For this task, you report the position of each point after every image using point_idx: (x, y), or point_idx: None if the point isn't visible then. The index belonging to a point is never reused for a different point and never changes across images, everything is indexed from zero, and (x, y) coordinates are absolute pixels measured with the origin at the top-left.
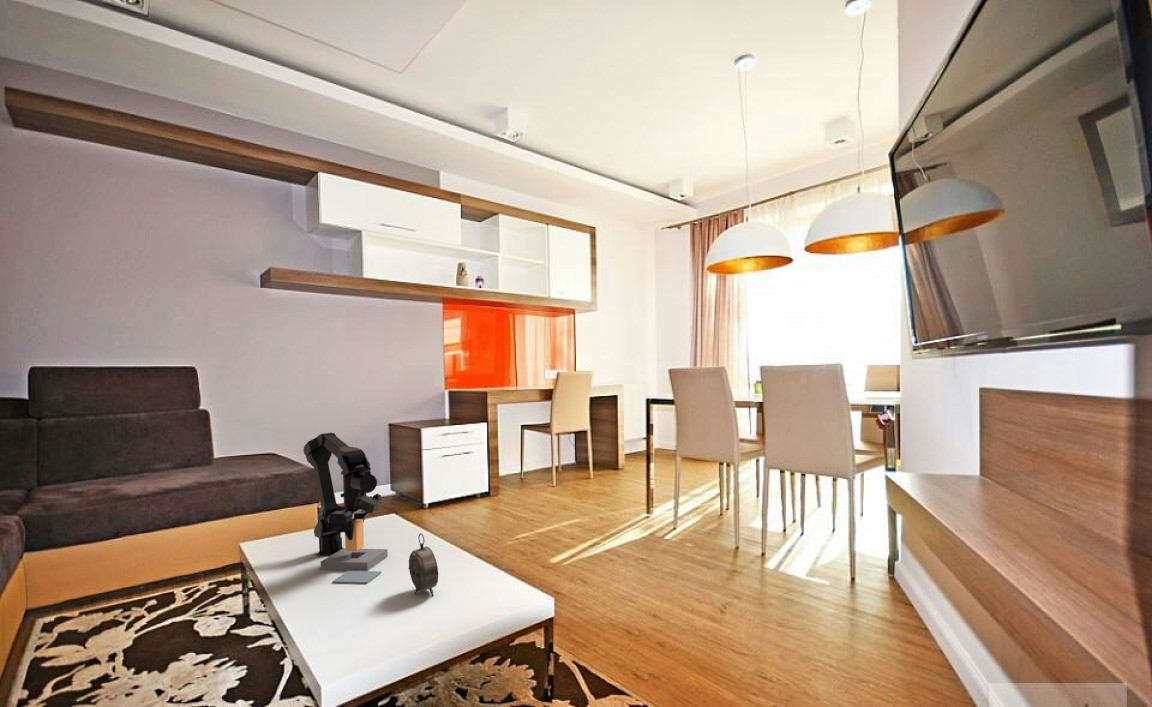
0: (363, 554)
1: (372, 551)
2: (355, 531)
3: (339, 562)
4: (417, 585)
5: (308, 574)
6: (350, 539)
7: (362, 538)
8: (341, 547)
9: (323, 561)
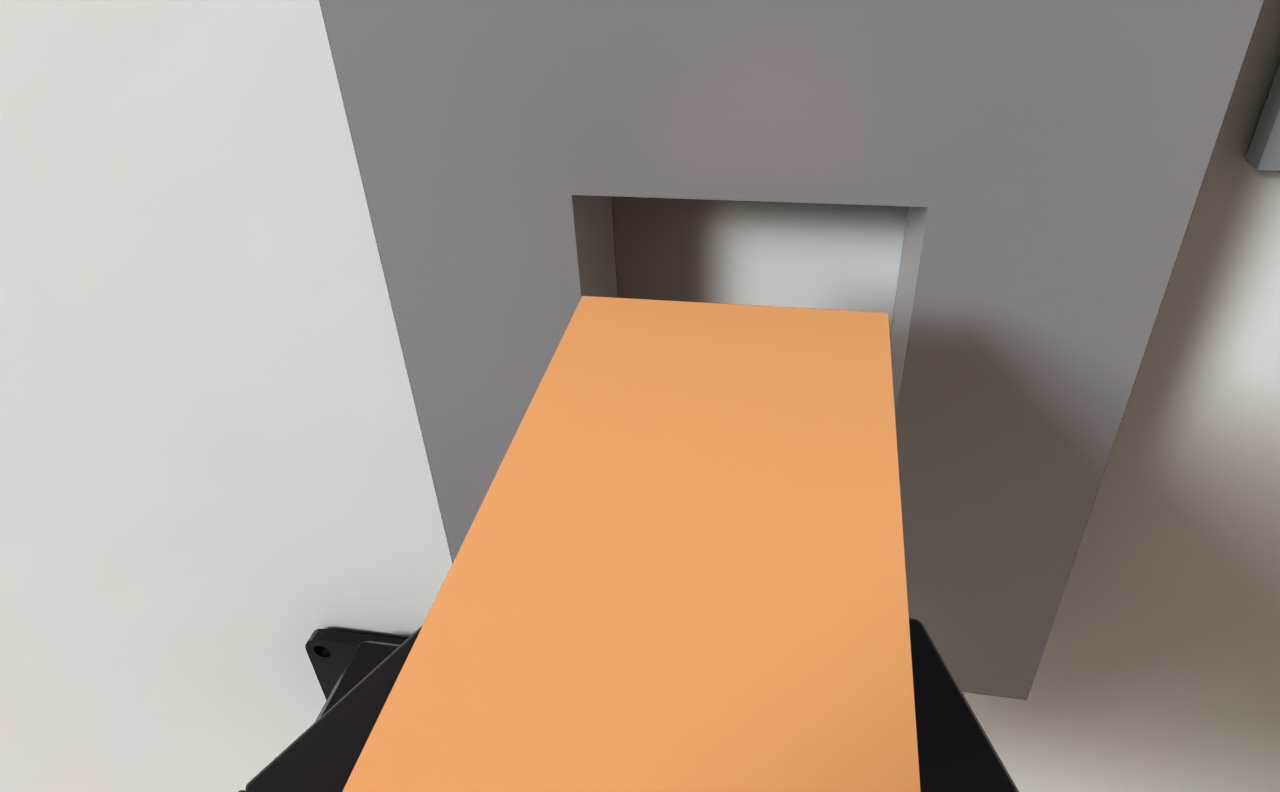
0: (587, 246)
1: (499, 95)
2: (913, 767)
3: (1108, 445)
4: None
5: (1171, 666)
6: (918, 648)
7: (584, 429)
8: (366, 662)
9: (1024, 670)
